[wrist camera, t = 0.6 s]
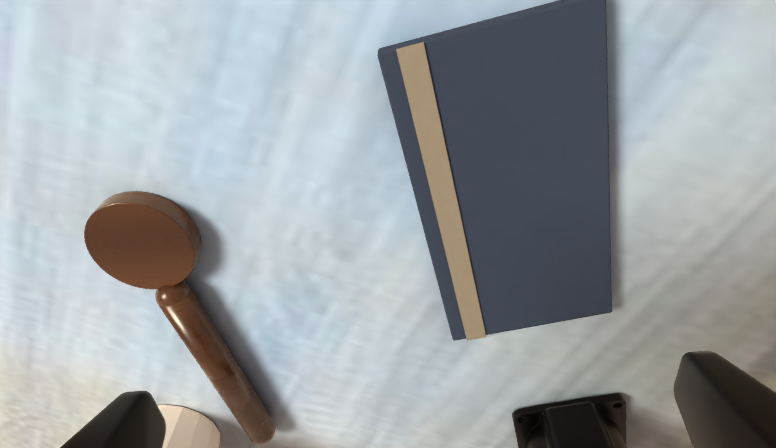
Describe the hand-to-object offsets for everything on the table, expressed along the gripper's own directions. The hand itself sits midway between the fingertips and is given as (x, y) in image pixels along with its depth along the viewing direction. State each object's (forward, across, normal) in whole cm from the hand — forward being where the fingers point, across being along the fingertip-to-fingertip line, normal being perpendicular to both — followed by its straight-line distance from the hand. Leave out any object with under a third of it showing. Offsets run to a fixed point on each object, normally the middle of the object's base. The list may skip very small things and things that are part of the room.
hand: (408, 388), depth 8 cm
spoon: (+14, +11, +11) cm, 21 cm away
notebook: (+14, -4, +4) cm, 15 cm away
